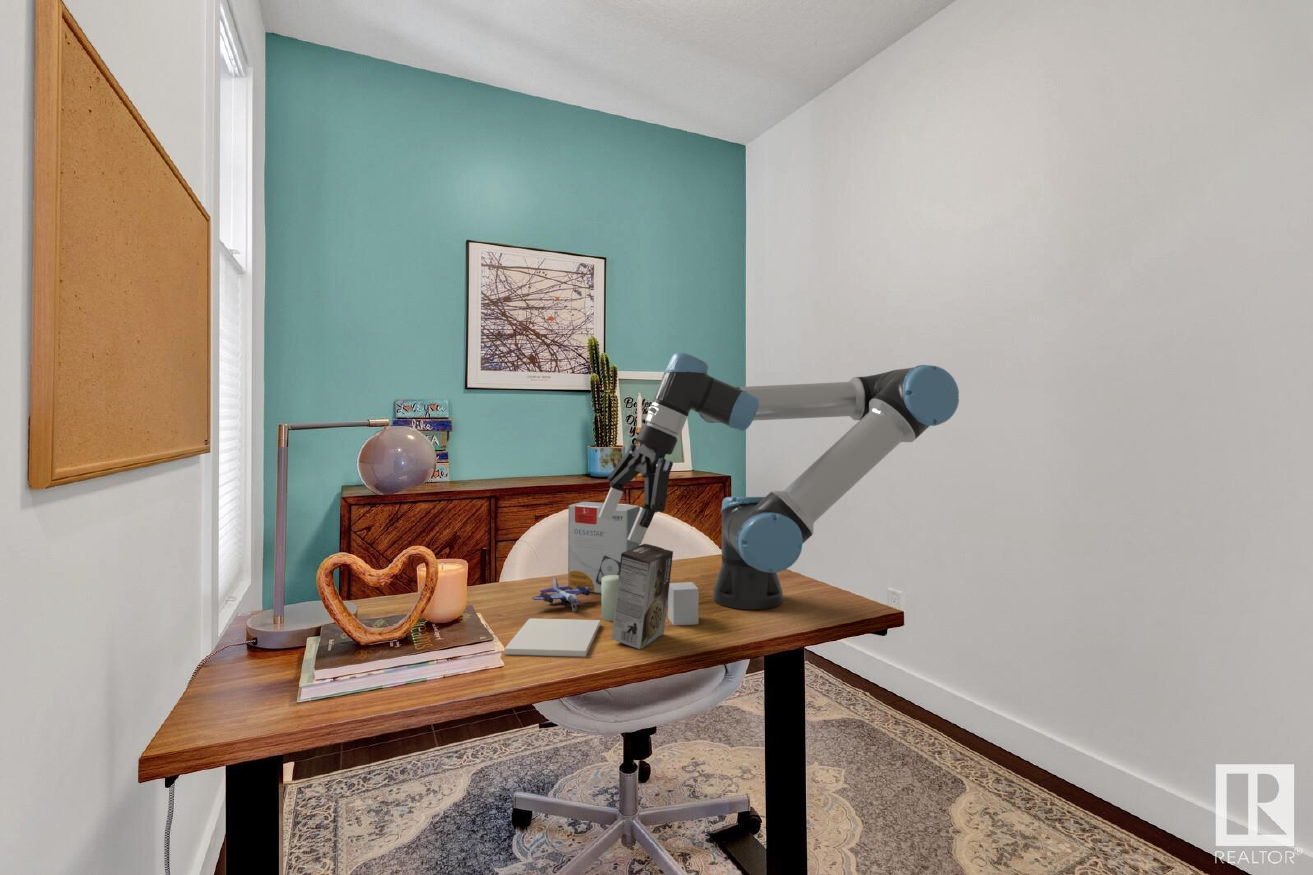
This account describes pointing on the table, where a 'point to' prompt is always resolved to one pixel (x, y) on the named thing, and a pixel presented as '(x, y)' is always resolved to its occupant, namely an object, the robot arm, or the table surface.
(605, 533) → the hard drive box
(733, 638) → the table surface
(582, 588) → the toy airplane
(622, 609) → the grey product box
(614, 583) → the sage cylinder
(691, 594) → the grey block
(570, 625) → the tile
